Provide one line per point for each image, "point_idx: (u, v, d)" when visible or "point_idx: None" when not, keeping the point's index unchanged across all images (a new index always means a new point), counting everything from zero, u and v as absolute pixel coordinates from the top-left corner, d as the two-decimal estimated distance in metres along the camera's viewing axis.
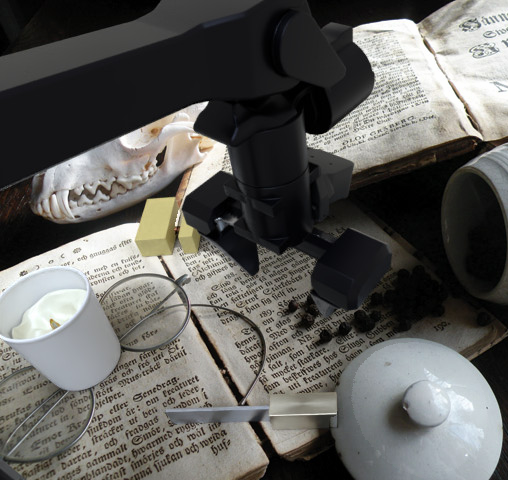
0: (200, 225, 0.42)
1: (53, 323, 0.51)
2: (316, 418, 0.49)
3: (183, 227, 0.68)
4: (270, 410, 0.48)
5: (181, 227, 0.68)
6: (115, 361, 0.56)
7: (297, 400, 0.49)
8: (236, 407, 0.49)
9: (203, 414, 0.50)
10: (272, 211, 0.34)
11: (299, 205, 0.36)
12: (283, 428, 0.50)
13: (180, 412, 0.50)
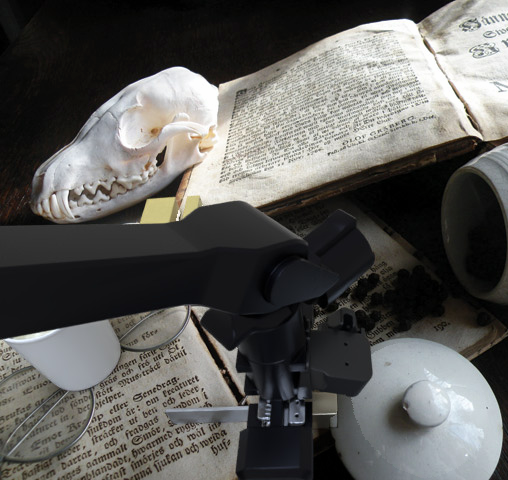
0: None
1: None
2: (316, 418, 0.49)
3: None
4: None
5: None
6: (115, 361, 0.56)
7: None
8: (236, 407, 0.49)
9: (203, 414, 0.50)
10: (236, 369, 0.39)
11: (267, 379, 0.39)
12: None
13: (180, 412, 0.50)
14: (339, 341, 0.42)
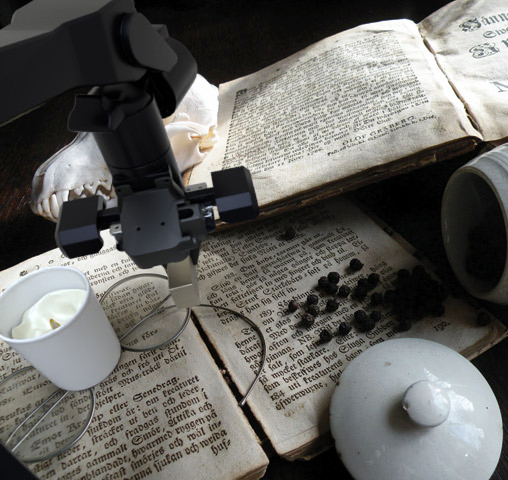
0: None
1: (53, 323, 0.51)
2: None
3: None
4: None
5: None
6: (115, 361, 0.56)
7: None
8: None
9: None
10: None
11: None
12: None
13: None
14: (163, 217, 0.40)
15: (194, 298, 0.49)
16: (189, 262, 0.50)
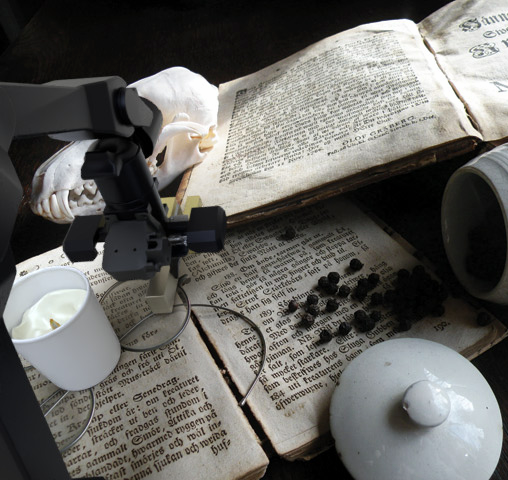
0: None
1: (53, 323, 0.51)
2: None
3: None
4: None
5: None
6: (115, 361, 0.56)
7: (163, 271, 0.61)
8: None
9: None
10: None
11: None
12: None
13: None
14: (136, 244, 0.51)
15: (166, 307, 0.60)
16: (167, 276, 0.61)
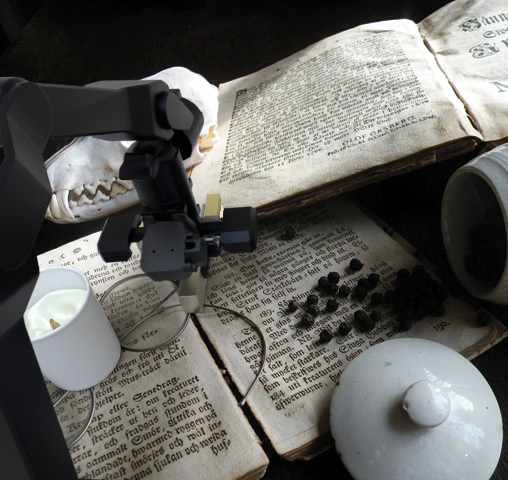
0: None
1: (53, 323, 0.51)
2: None
3: None
4: None
5: None
6: (115, 361, 0.56)
7: None
8: None
9: None
10: None
11: None
12: None
13: None
14: (174, 245, 0.51)
15: (197, 306, 0.60)
16: (198, 276, 0.61)
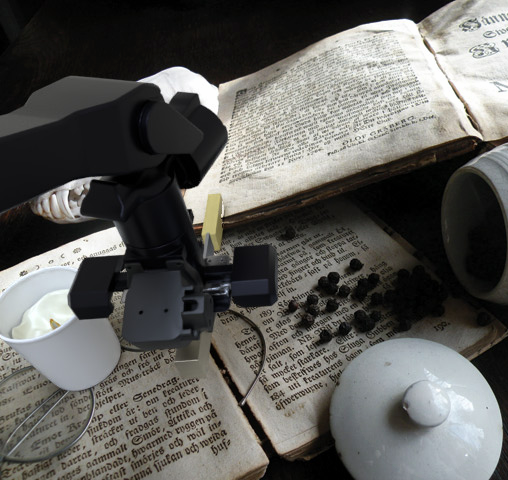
0: None
1: (53, 323, 0.51)
2: None
3: (206, 225, 0.68)
4: None
5: (204, 225, 0.68)
6: (115, 361, 0.56)
7: None
8: None
9: None
10: None
11: None
12: None
13: (205, 243, 0.57)
14: (168, 303, 0.38)
15: (200, 372, 0.47)
16: None
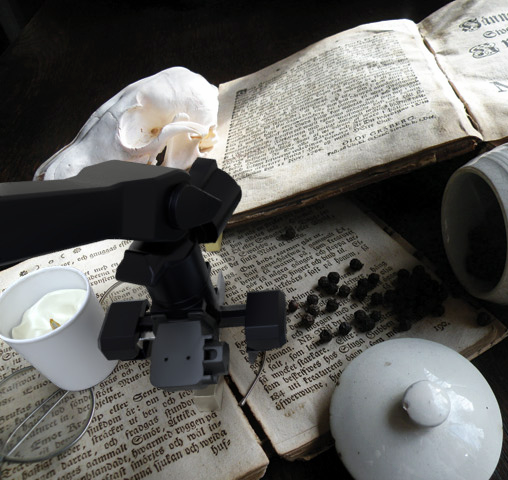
0: None
1: (53, 323, 0.51)
2: None
3: None
4: None
5: None
6: (115, 361, 0.56)
7: None
8: None
9: None
10: None
11: None
12: None
13: None
14: (190, 351, 0.43)
15: (215, 405, 0.51)
16: None
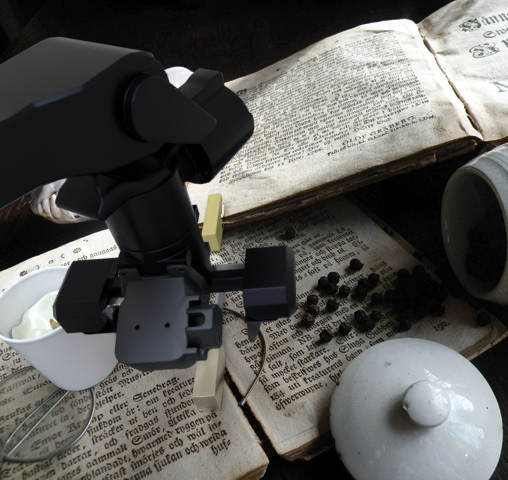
0: None
1: (53, 323, 0.51)
2: None
3: (206, 225, 0.68)
4: None
5: (204, 225, 0.68)
6: (115, 361, 0.56)
7: (211, 362, 0.53)
8: None
9: None
10: None
11: None
12: None
13: None
14: (170, 316, 0.32)
15: (215, 405, 0.51)
16: (216, 369, 0.52)
